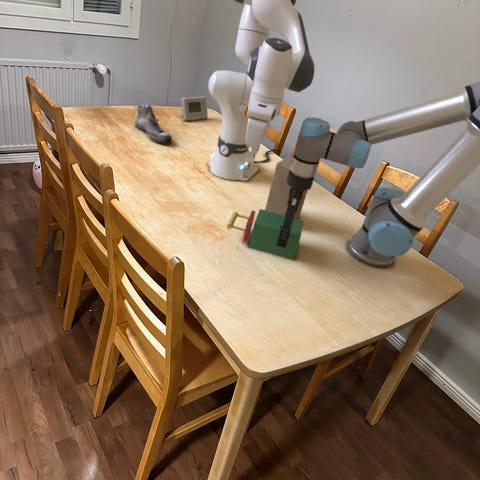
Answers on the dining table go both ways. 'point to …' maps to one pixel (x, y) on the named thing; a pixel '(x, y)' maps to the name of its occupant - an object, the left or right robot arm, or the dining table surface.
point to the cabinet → (274, 234)
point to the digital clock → (194, 108)
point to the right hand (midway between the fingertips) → (283, 237)
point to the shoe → (151, 124)
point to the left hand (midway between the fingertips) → (254, 152)
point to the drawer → (248, 225)
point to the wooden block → (282, 190)
